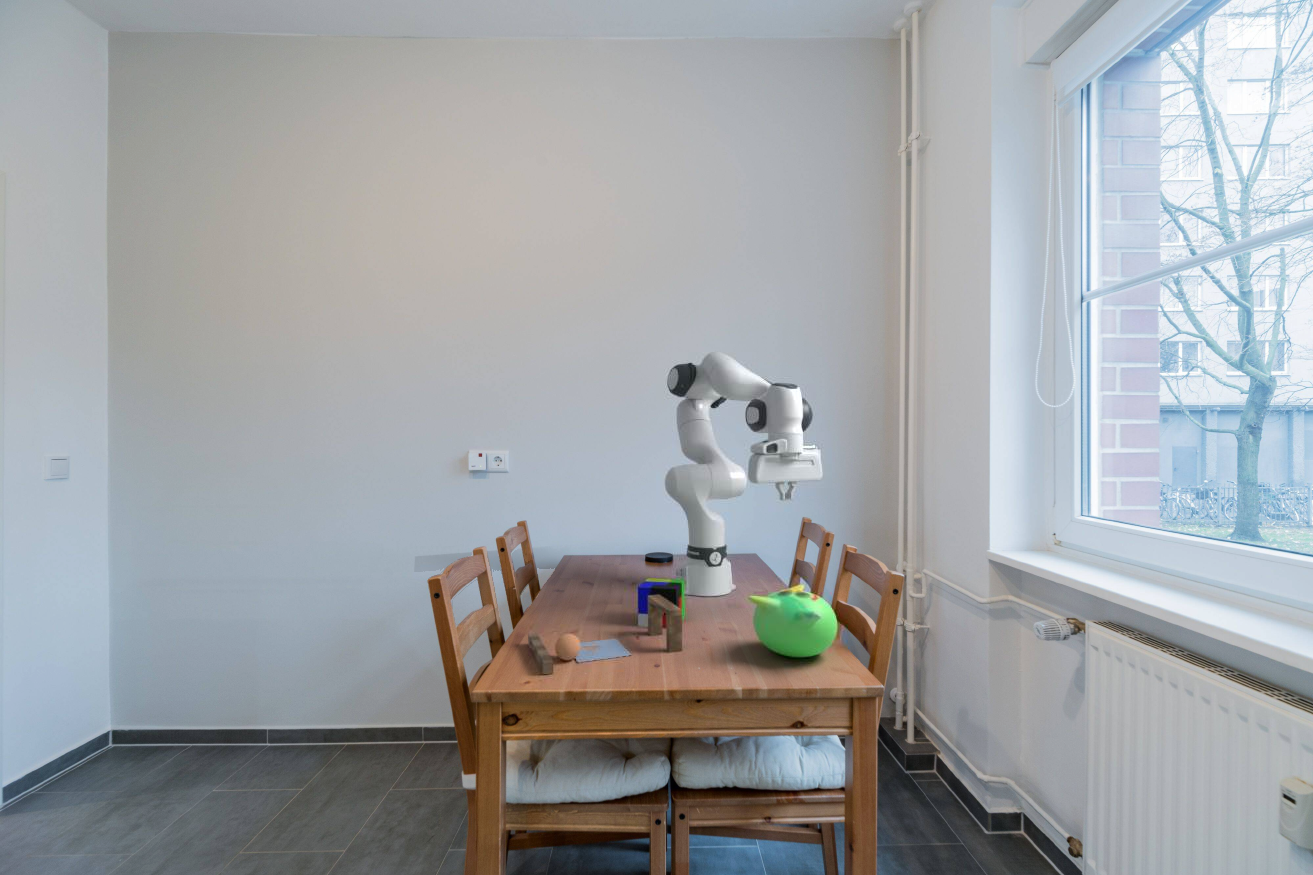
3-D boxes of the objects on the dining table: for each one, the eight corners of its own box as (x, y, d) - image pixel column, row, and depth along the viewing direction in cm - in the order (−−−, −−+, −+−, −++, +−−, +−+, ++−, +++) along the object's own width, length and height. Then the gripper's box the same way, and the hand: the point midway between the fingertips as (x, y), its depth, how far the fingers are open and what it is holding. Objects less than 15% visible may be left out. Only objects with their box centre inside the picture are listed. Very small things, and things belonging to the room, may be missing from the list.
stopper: (528, 644, 148) (528, 633, 148) (537, 643, 149) (536, 632, 149) (543, 675, 129) (543, 662, 129) (553, 673, 130) (553, 661, 130)
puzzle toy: (638, 626, 161) (637, 587, 161) (648, 615, 171) (647, 578, 171) (676, 629, 159) (676, 588, 159) (684, 617, 168) (684, 579, 168)
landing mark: (566, 645, 147) (566, 644, 147) (616, 639, 151) (616, 638, 151) (577, 663, 136) (577, 662, 136) (631, 655, 140) (631, 654, 140)
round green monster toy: (845, 649, 142) (845, 583, 142) (824, 675, 127) (823, 601, 127) (768, 637, 151) (767, 575, 151) (740, 660, 136) (739, 591, 136)
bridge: (669, 652, 142) (669, 610, 142) (648, 633, 155) (647, 595, 155) (682, 650, 143) (681, 609, 143) (659, 631, 156) (659, 594, 156)
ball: (579, 645, 142) (555, 656, 140) (573, 625, 140) (549, 635, 139) (586, 658, 137) (562, 669, 135) (580, 637, 136) (555, 647, 134)
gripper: (813, 445, 170) (813, 496, 170) (744, 446, 163) (745, 500, 163) (827, 445, 164) (827, 499, 164) (756, 446, 157) (757, 503, 157)
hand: (786, 499), depth 163 cm, fingers closed
